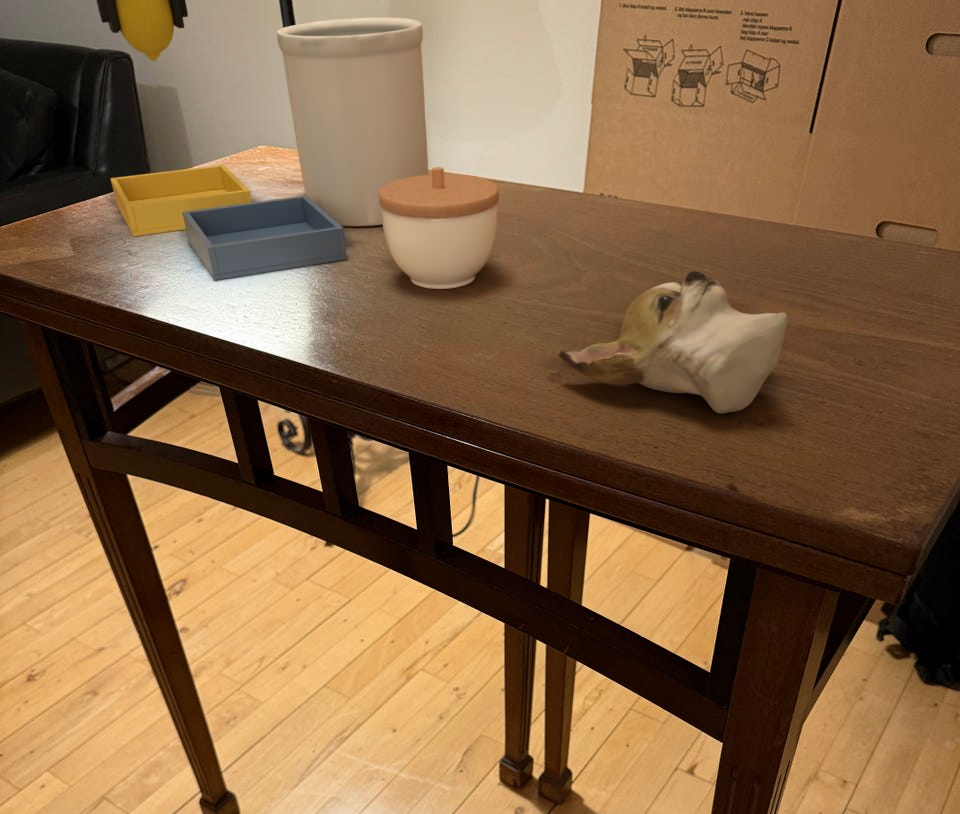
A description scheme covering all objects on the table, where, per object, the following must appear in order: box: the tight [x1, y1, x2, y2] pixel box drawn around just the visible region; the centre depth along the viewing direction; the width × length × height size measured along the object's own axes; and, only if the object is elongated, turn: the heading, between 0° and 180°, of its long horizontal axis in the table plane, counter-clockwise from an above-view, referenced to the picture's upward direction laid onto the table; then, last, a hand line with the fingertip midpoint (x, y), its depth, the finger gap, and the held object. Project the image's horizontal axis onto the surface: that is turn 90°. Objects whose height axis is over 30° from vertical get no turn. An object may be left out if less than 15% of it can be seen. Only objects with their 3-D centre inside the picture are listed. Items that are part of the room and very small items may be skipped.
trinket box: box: [378, 166, 500, 290], centre depth 82 cm, size 11×11×9 cm
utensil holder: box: [276, 17, 429, 227], centre depth 98 cm, size 15×15×18 cm
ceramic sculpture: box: [557, 270, 789, 415], centre depth 64 cm, size 11×9×15 cm
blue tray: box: [182, 194, 348, 281], centre depth 92 cm, size 13×13×3 cm
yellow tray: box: [110, 164, 253, 237], centre depth 103 cm, size 13×13×3 cm
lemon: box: [114, 0, 175, 62], centre depth 90 cm, size 6×6×8 cm
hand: (146, 26), depth 91 cm, fingers closed on lemon, 5 cm apart
